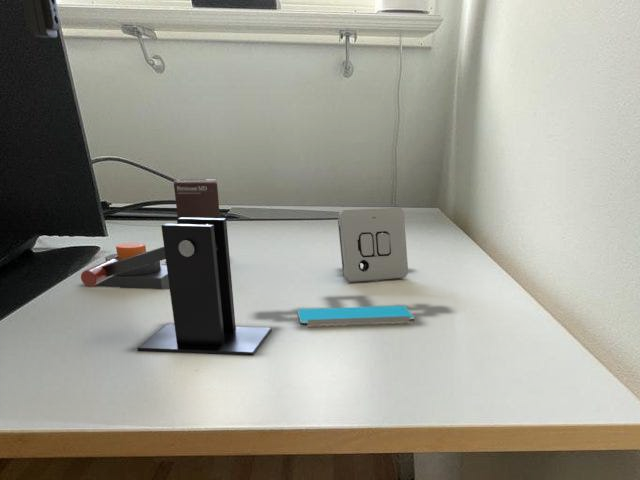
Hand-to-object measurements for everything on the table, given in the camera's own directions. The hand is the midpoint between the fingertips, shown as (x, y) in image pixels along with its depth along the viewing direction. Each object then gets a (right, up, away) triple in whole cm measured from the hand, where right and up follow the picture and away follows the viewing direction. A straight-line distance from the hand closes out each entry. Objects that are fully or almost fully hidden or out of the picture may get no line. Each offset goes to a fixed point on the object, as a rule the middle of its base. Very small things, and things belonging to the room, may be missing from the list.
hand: (45, 36), depth 67 cm
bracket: (+17, -32, -2) cm, 37 cm away
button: (+3, -17, +18) cm, 25 cm away
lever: (+13, -26, -6) cm, 29 cm away
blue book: (+31, -27, +7) cm, 42 cm away
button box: (+3, -20, +20) cm, 28 cm away
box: (+9, -14, +31) cm, 35 cm away
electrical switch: (+33, -17, +26) cm, 46 cm away
